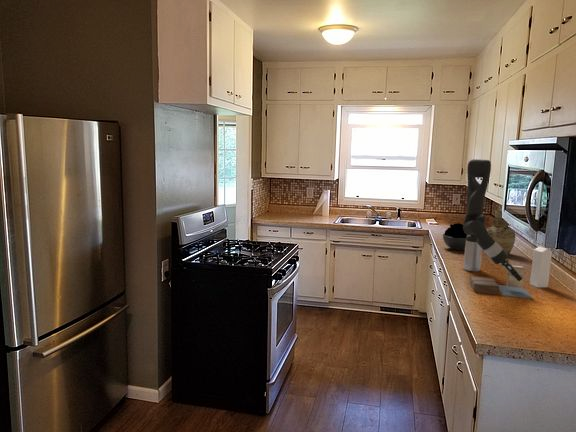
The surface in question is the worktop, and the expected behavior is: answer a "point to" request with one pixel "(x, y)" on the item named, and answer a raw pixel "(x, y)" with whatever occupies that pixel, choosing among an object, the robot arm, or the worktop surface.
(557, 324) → the worktop surface
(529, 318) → the worktop surface
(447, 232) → the coal bowl
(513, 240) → the ceramic vessel
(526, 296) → the rubber mat
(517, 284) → the birch block
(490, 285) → the plate
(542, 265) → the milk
